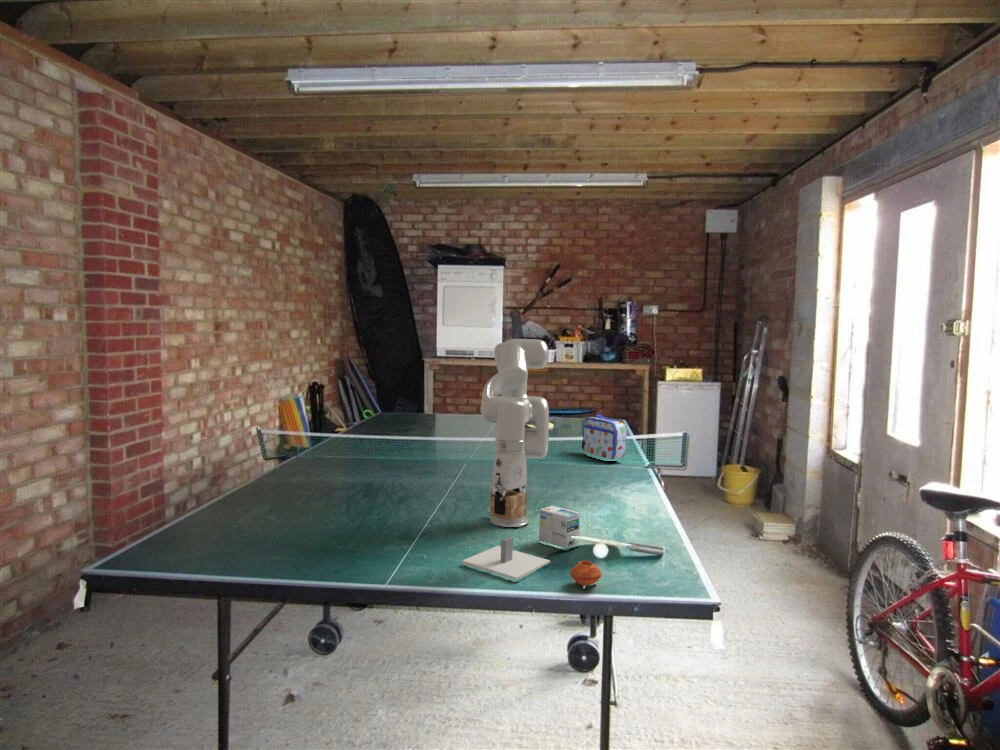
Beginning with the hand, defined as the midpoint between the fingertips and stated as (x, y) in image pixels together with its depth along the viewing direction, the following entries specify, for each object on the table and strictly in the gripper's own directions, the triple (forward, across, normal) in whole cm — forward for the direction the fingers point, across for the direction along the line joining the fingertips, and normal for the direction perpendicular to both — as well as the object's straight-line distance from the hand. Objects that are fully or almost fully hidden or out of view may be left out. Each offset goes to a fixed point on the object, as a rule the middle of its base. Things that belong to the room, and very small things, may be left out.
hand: (508, 510), depth 175 cm
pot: (+16, +3, -23) cm, 28 cm away
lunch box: (+13, +150, +50) cm, 158 cm away
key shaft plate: (+15, 0, 0) cm, 15 cm away
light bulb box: (+15, +24, -2) cm, 29 cm away
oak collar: (+1, 0, 0) cm, 1 cm away
